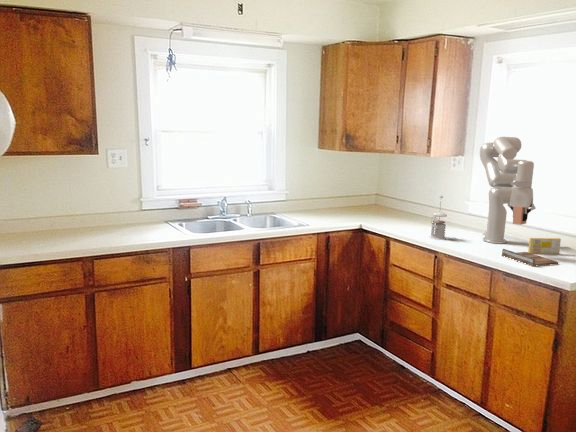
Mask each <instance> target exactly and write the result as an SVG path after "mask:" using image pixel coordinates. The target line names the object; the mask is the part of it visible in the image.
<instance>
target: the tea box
mask: <svg viewBox="0 0 576 432" xmlns="http://www.w3.org/2000/svg"><path fill="white" fill-rule="evenodd" d="M513 207H514V215H513V214H512V225H513V224H514V225H519V226H520V225H526V224H527V220H528V219H527V220H526V221H523V214H524V208H523V207H517V206H513Z"/></svg>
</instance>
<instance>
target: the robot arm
mask: <svg viewBox="0 0 576 432" xmlns="http://www.w3.org/2000/svg"><path fill="white" fill-rule="evenodd" d="M521 149H522V141H521V140H520V138H518V137H515V136H499V137H497V138H495V139H494V141H493V142H485V143H483V144H482V145H481V146H480V149H479V158H480V161H481V163H482V165H483V167H484V169H485V174H486V178H487V182H488V185H489V186H490V187H491V188H490V189H489V190H488V202H489V203H488V215H487V225H486V231H484V232H482V235H483V236H484V237H483V238H482V240H483V242H487V243H491V244H501V245H502V244H506V243H507V239H505V232H506V223H507V222H506V221H507V214H508V212H507V209H506V207H505V205H506V206H507V207H508V208H509V209H510V210H511V212H512V216H513V215H514V206H517V207H523V208H524V214H523V221H526V220H528V217H529V216H528V215H529V213H530V212H532V211H534V210H536V206H535V204H534V190H533V188H532V186H533V185H532V184H533V175H534V167H535V163H534V162H533V161H532V160H527V159H515V158H516V157H517V155H518V153H519V152H520V151H521ZM495 158H497V159H495ZM526 222H527V221H526Z"/></svg>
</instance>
